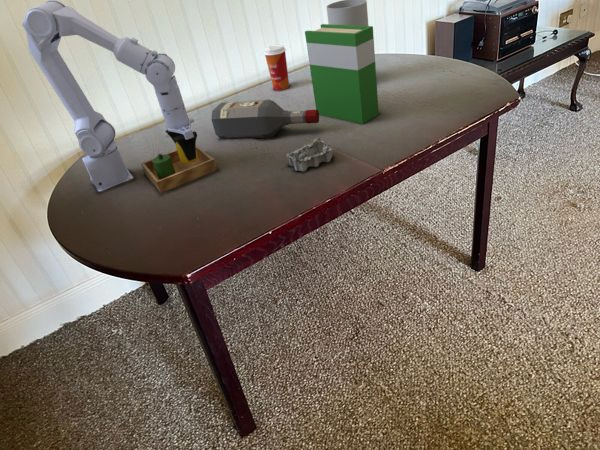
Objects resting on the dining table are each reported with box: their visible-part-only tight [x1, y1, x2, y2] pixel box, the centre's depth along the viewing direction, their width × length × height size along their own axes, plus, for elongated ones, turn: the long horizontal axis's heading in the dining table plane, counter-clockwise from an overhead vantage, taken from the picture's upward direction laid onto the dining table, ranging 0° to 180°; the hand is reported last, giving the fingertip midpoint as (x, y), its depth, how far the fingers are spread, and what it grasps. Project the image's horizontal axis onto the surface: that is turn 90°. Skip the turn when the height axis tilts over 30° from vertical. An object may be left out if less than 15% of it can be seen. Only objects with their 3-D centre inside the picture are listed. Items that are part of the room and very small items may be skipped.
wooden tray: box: [140, 144, 218, 194], centre depth 122 cm, size 15×14×4 cm
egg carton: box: [285, 137, 334, 173], centre depth 115 cm, size 11×8×4 cm
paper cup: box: [263, 44, 290, 92], centre depth 162 cm, size 8×8×14 cm
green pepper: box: [152, 153, 176, 180], centre depth 119 cm, size 5×5×6 cm
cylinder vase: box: [326, 0, 369, 26], centre depth 152 cm, size 12×12×25 cm
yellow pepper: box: [174, 142, 198, 164], centre depth 121 cm, size 5×5×6 cm
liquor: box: [210, 99, 320, 139], centre depth 132 cm, size 9×9×30 cm
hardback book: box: [304, 23, 380, 125], centre depth 131 cm, size 18×7×24 cm, turn 45°
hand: (188, 156), depth 122 cm, fingers closed on yellow pepper, 4 cm apart
